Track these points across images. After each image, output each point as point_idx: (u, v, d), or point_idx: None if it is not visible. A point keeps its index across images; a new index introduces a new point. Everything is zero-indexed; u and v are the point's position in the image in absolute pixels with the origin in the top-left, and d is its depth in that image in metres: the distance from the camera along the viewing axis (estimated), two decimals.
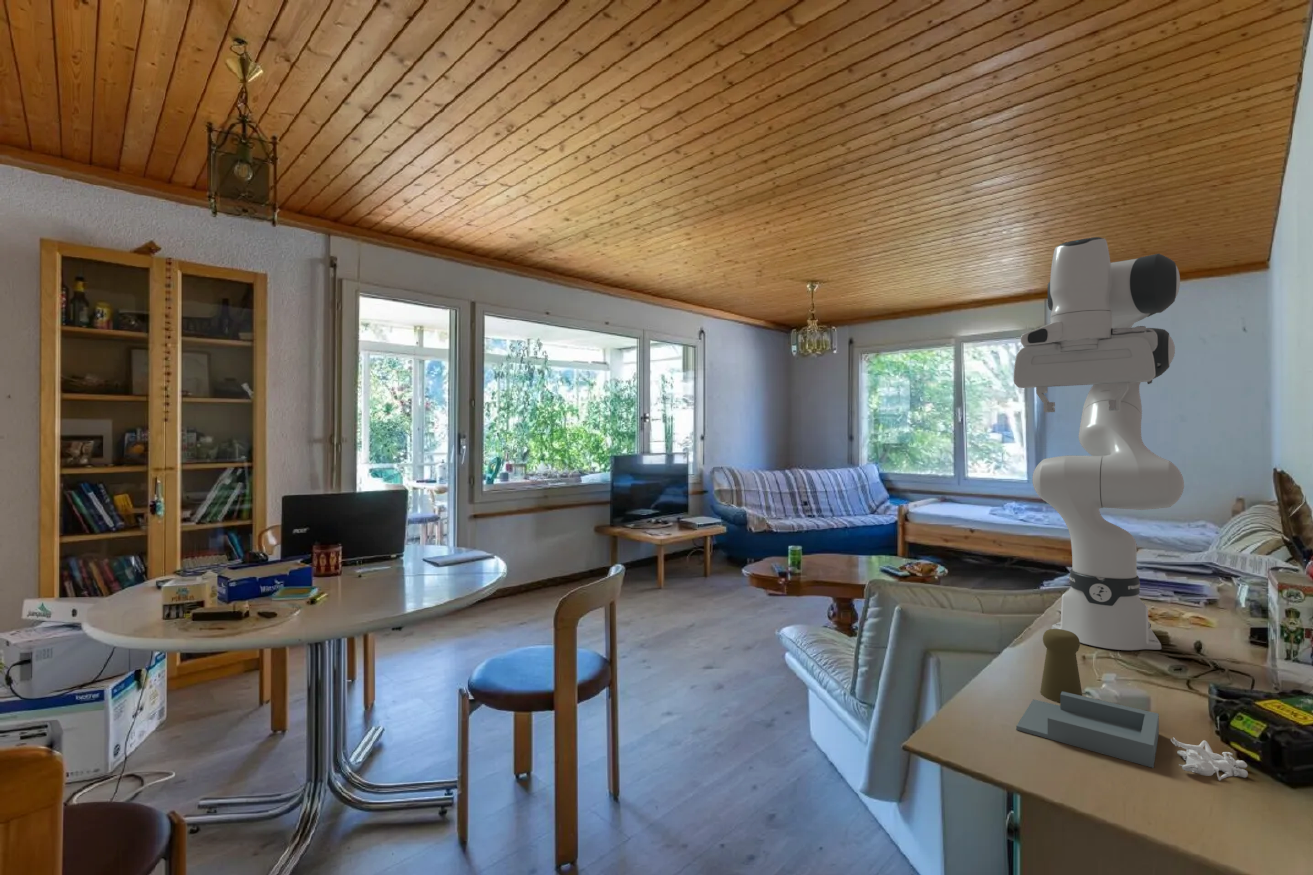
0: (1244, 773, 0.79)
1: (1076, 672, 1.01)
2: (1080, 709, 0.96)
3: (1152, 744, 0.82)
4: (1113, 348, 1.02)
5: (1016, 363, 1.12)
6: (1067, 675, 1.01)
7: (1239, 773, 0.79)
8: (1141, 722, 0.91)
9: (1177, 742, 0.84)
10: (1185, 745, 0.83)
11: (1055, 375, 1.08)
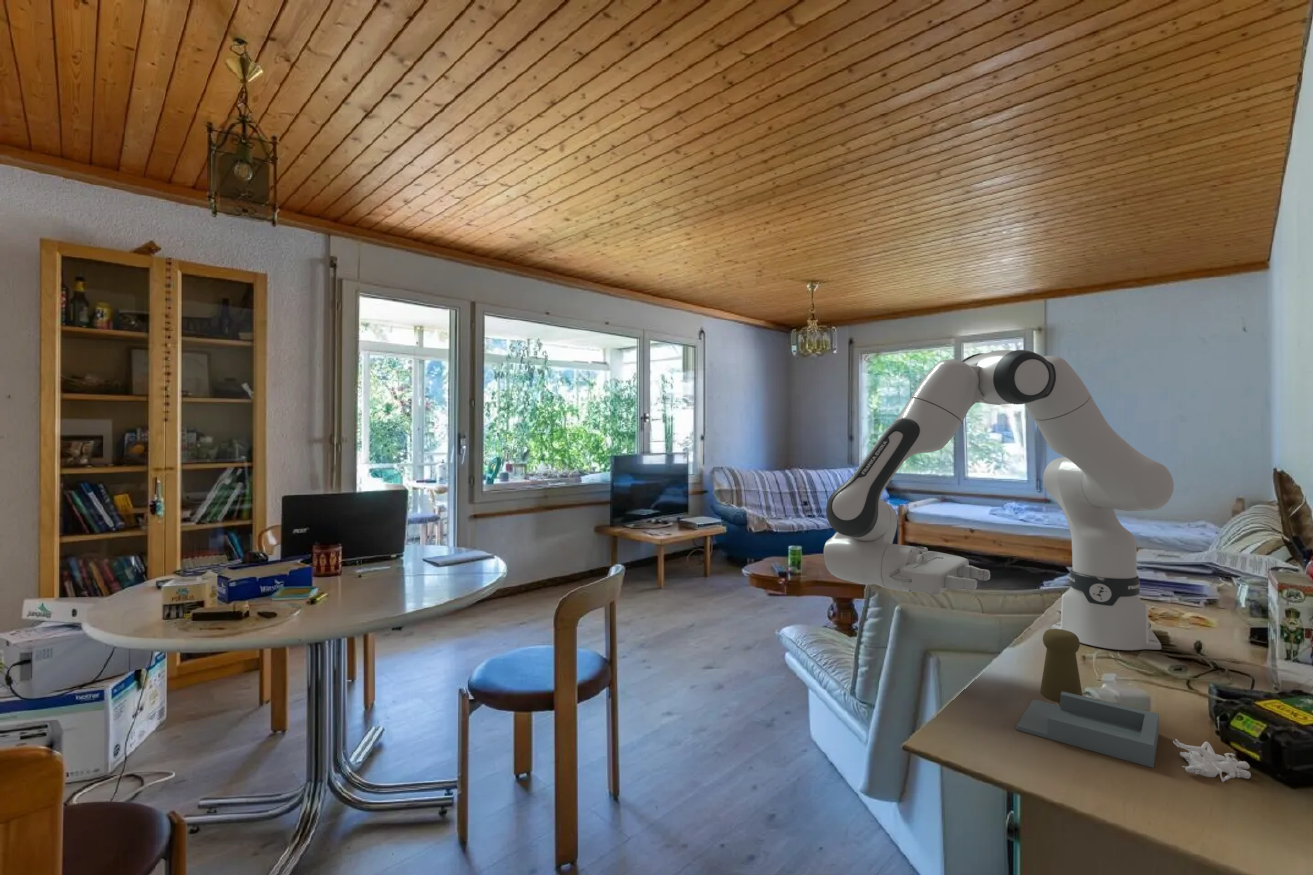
0: (1247, 774, 0.79)
1: (1076, 672, 1.01)
2: (1080, 709, 0.96)
3: (1152, 744, 0.82)
4: None
5: None
6: (1067, 675, 1.01)
7: (1242, 774, 0.79)
8: (1141, 722, 0.91)
9: (1179, 743, 0.83)
10: (1188, 746, 0.83)
11: None
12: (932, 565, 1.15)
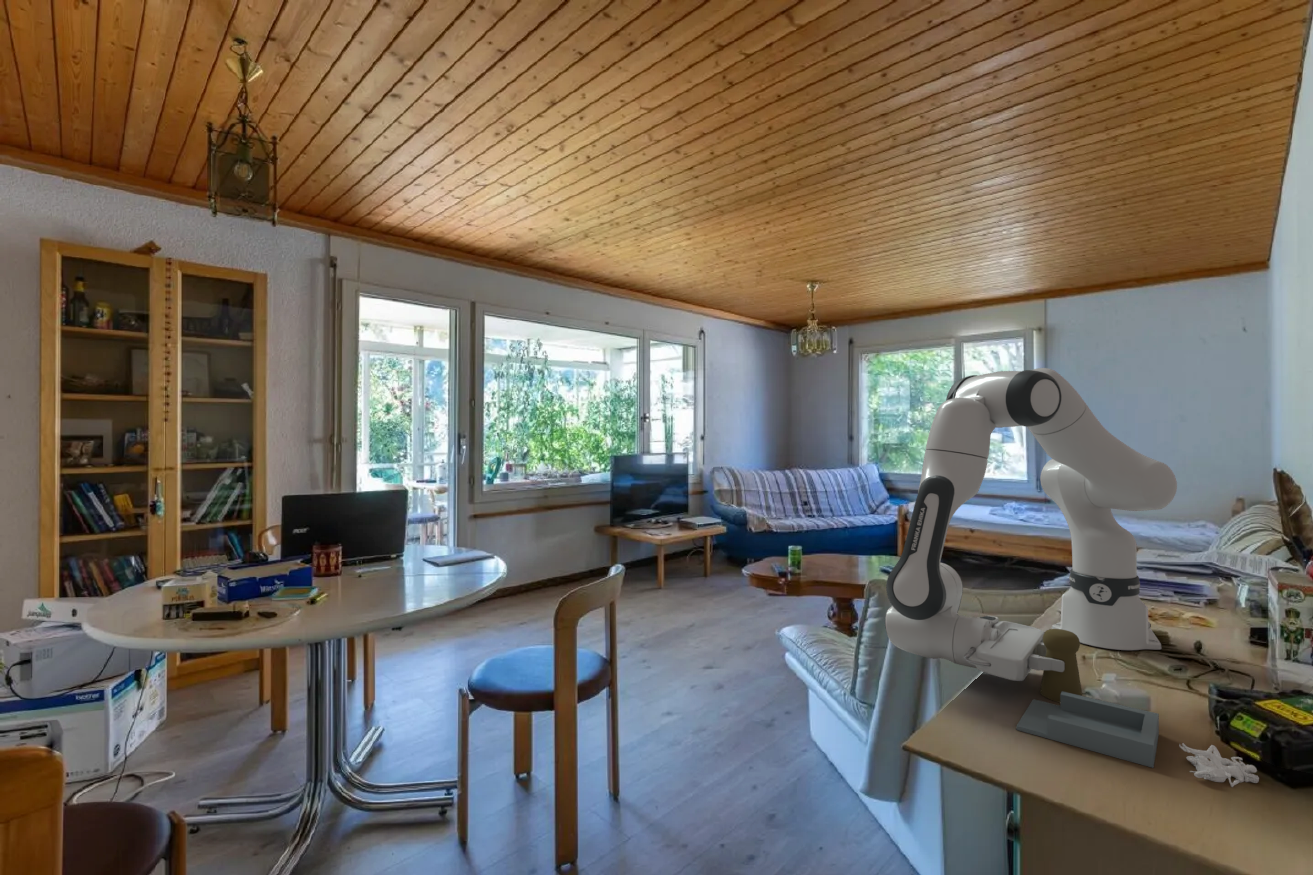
0: (1255, 778, 0.78)
1: (1076, 672, 1.01)
2: (1080, 709, 0.96)
3: (1152, 744, 0.82)
4: None
5: None
6: (1067, 675, 1.01)
7: (1250, 779, 0.78)
8: (1141, 722, 0.91)
9: (1187, 748, 0.82)
10: (1195, 751, 0.81)
11: None
12: (1010, 643, 1.07)
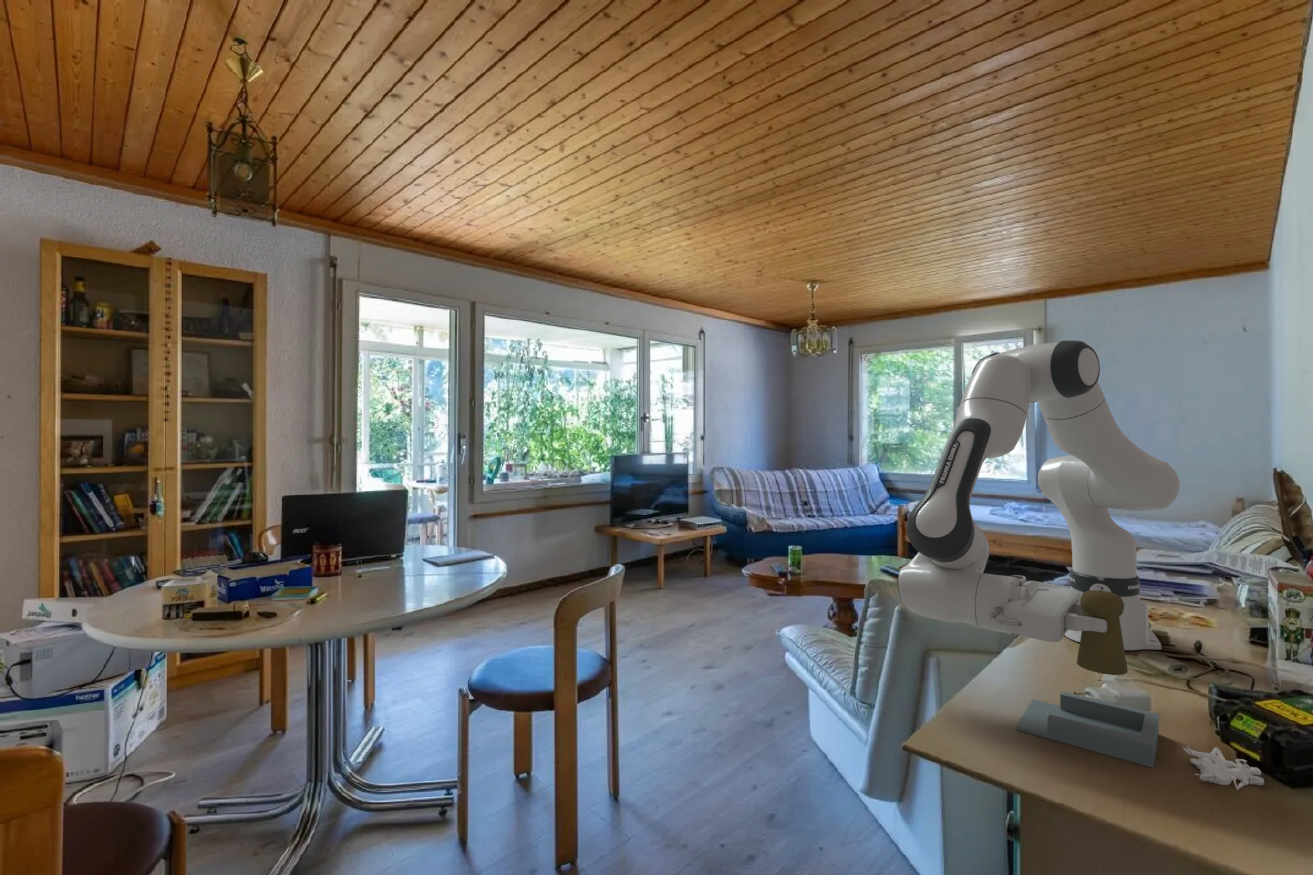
0: (1260, 781, 0.77)
1: (1119, 639, 0.88)
2: (1080, 709, 0.96)
3: (1152, 744, 0.82)
4: None
5: None
6: (1109, 641, 0.87)
7: (1255, 781, 0.77)
8: (1141, 722, 0.91)
9: (1191, 750, 0.81)
10: (1199, 753, 0.81)
11: None
12: (1042, 602, 0.93)
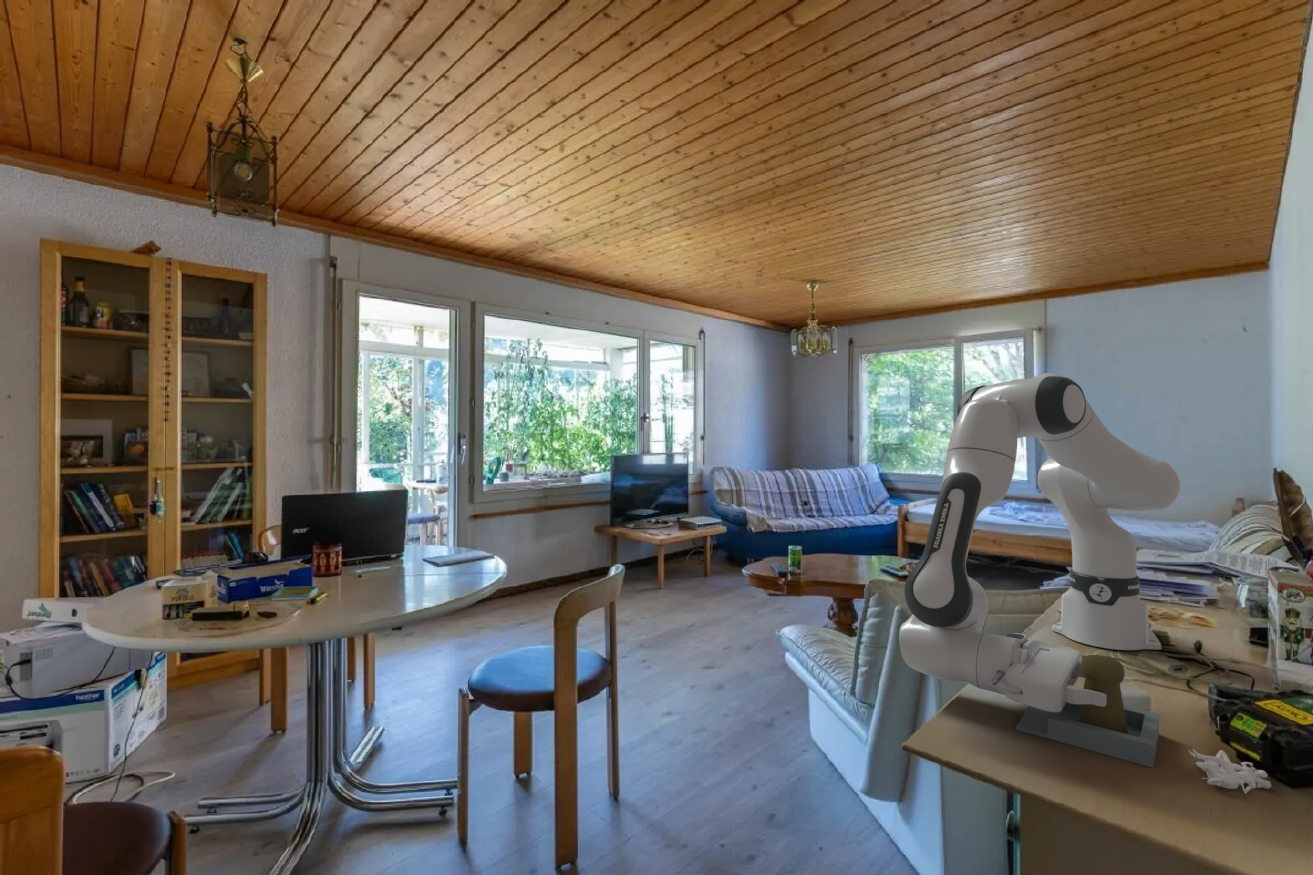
0: (1268, 784, 0.76)
1: (1120, 706, 0.88)
2: None
3: (1152, 744, 0.82)
4: (1022, 692, 0.93)
5: None
6: (1110, 709, 0.87)
7: (1263, 784, 0.77)
8: (1141, 722, 0.91)
9: (1197, 754, 0.80)
10: (1206, 757, 0.80)
11: None
12: (1043, 667, 0.93)
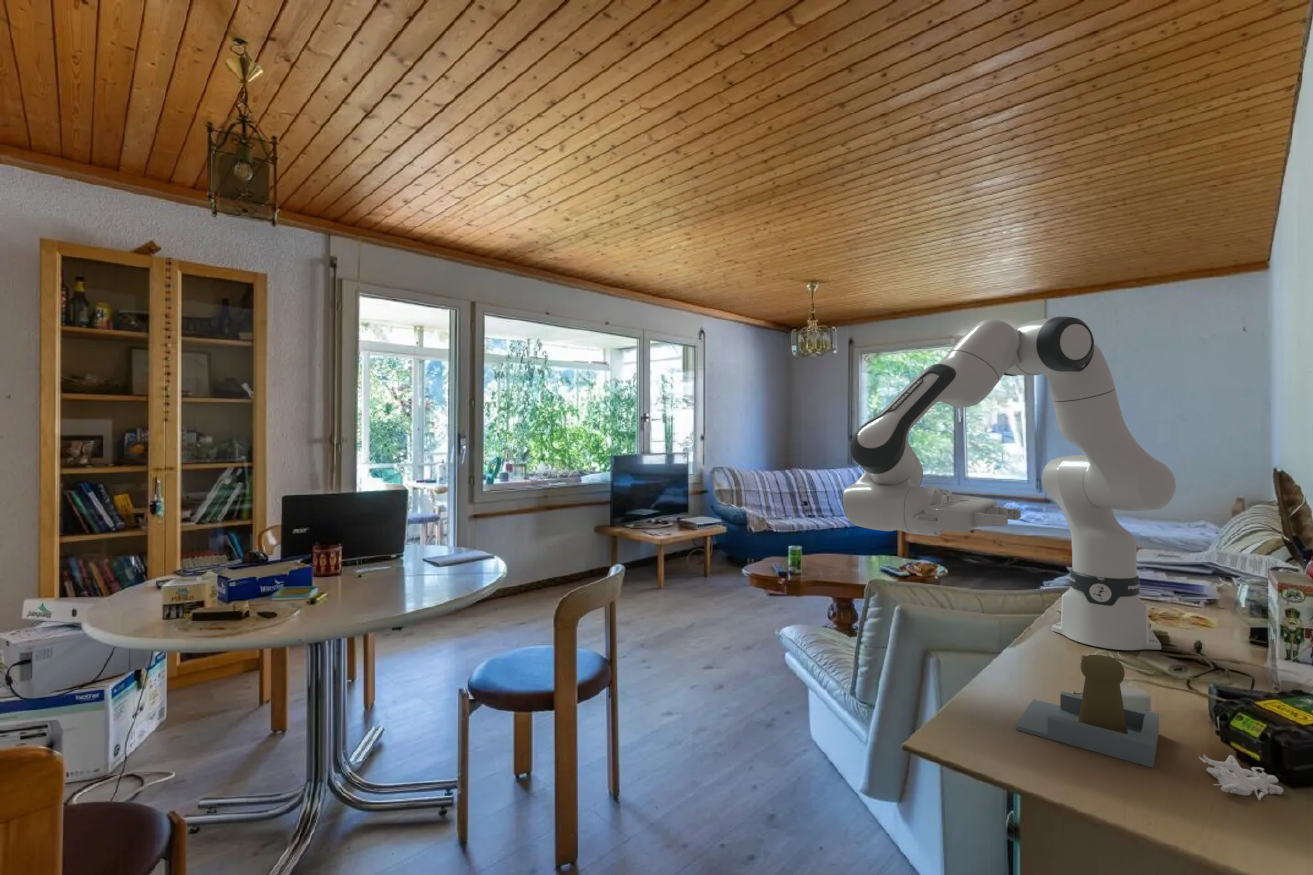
0: (1280, 790, 0.75)
1: (1120, 706, 0.88)
2: None
3: (1152, 744, 0.82)
4: None
5: None
6: (1110, 709, 0.87)
7: (1275, 790, 0.75)
8: (1141, 722, 0.91)
9: (1208, 760, 0.79)
10: (1217, 762, 0.79)
11: None
12: (958, 505, 1.08)
